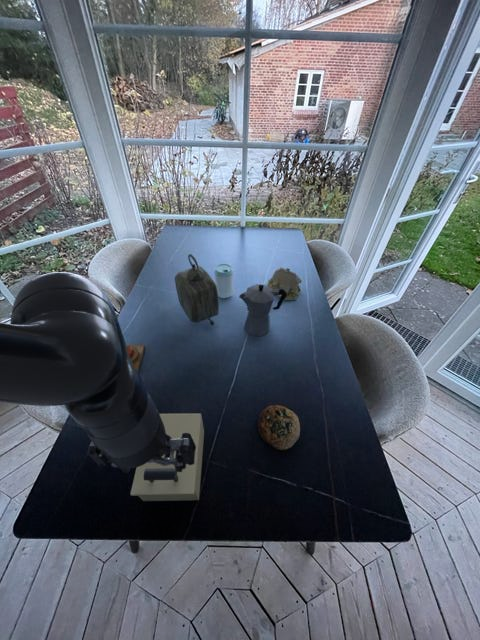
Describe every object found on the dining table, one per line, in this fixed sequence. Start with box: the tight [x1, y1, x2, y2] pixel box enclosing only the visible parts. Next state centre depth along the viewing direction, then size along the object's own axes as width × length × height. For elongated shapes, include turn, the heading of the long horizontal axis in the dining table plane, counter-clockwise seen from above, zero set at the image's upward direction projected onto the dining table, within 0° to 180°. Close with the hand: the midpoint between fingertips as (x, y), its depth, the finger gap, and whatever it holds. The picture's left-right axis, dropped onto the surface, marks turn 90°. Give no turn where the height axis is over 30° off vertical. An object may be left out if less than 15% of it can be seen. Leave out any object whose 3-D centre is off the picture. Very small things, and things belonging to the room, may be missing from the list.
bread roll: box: [256, 404, 301, 451], centre depth 66 cm, size 11×11×5 cm
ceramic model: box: [267, 267, 303, 301], centre depth 103 cm, size 14×11×10 cm
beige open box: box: [138, 415, 205, 502], centre depth 58 cm, size 15×12×9 cm
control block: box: [126, 344, 146, 373], centre depth 79 cm, size 10×7×4 cm
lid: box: [129, 413, 202, 497], centre depth 52 cm, size 15×12×5 cm
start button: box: [127, 347, 134, 358], centre depth 78 cm, size 4×4×2 cm
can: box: [213, 263, 234, 299], centre depth 100 cm, size 7×7×12 cm
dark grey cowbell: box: [174, 253, 220, 326], centre depth 86 cm, size 14×9×25 cm, turn 31°
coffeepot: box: [238, 283, 287, 337], centre depth 86 cm, size 15×9×18 cm, turn 101°
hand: (155, 465), depth 44 cm, fingers open, 8 cm apart
